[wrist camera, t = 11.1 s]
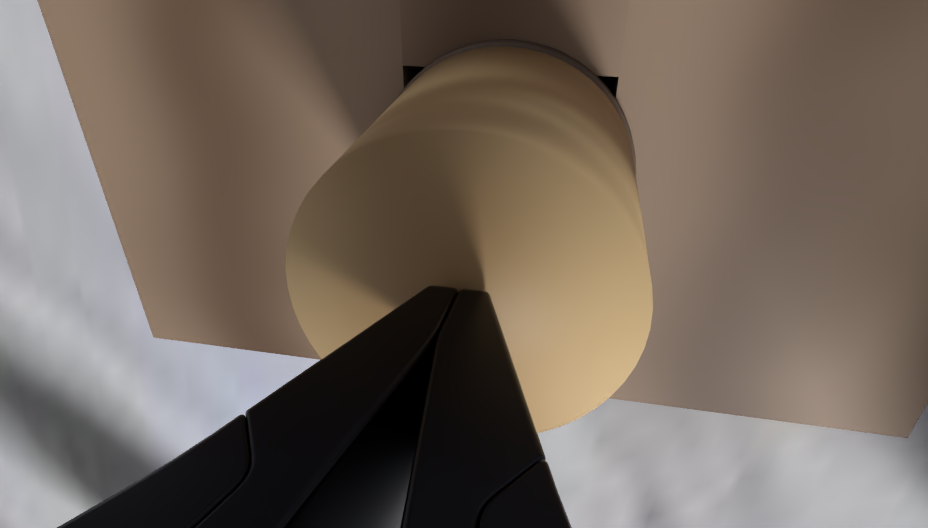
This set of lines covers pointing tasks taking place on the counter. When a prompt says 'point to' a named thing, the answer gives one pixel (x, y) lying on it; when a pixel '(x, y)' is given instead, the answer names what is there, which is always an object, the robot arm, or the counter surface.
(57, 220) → the counter surface
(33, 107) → the counter surface
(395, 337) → the robot arm
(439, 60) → the oak peg
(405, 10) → the walnut board
